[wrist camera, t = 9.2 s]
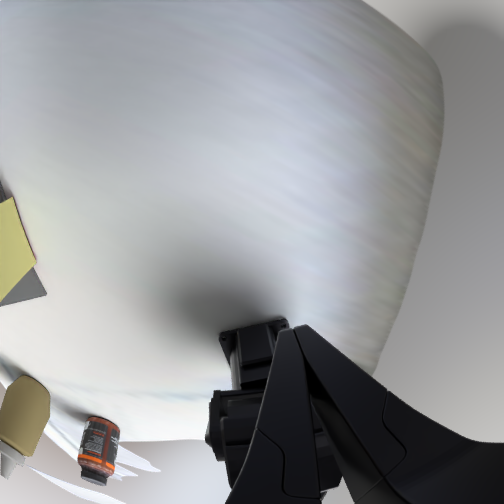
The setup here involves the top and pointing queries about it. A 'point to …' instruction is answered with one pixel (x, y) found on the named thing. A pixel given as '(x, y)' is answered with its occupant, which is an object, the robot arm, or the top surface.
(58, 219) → the top surface
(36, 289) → the mat
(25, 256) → the baking soda box
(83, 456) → the supplement bottle
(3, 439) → the squeeze bottle
